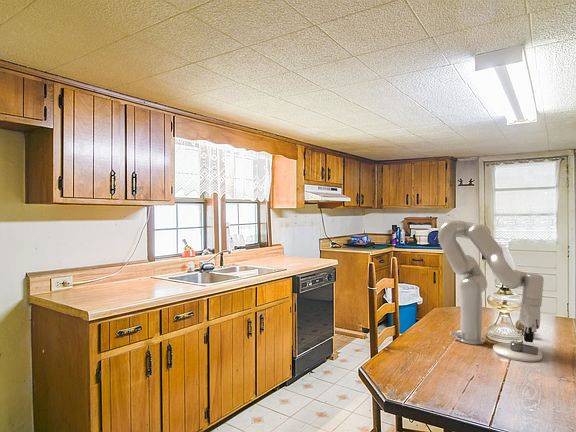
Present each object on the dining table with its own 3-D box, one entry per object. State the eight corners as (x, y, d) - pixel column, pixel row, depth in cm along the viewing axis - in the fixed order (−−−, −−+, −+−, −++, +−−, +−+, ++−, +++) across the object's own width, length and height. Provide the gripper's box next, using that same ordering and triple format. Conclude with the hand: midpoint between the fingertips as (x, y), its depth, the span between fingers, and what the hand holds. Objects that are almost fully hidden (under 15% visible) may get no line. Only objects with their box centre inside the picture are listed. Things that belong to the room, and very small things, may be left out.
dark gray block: (509, 349, 178) (509, 342, 178) (512, 347, 182) (512, 339, 182) (535, 356, 171) (536, 348, 171) (538, 353, 174) (539, 345, 174)
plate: (505, 360, 169) (505, 357, 169) (485, 345, 188) (485, 342, 188) (551, 362, 168) (551, 359, 168) (527, 347, 187) (527, 343, 187)
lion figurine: (527, 338, 200) (528, 320, 200) (515, 336, 202) (515, 319, 202) (525, 330, 213) (525, 314, 213) (514, 329, 215) (514, 312, 215)
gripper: (515, 296, 186) (512, 335, 187) (530, 305, 171) (526, 346, 172) (533, 298, 185) (529, 336, 186) (549, 306, 170) (545, 348, 171)
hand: (528, 341), depth 179 cm, fingers closed
